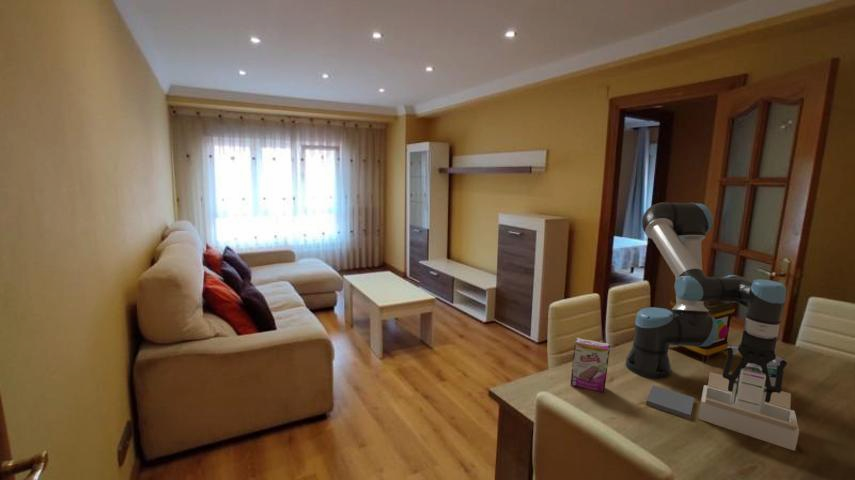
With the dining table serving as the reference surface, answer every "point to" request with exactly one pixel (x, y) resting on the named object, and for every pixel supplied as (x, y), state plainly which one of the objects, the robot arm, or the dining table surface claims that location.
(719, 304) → the decorative lantern
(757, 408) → the syrup box
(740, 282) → the robot arm
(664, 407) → the slate mat
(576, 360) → the candy bar box
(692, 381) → the dining table surface
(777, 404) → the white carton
